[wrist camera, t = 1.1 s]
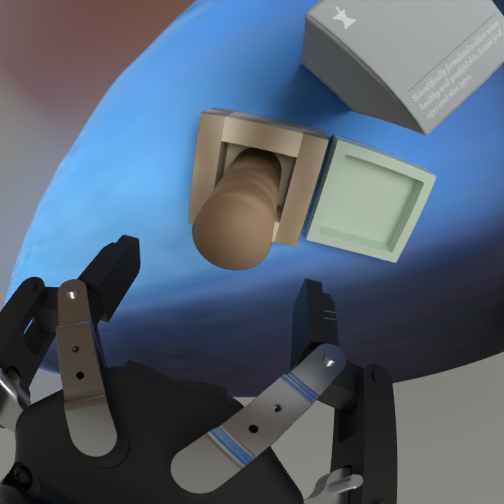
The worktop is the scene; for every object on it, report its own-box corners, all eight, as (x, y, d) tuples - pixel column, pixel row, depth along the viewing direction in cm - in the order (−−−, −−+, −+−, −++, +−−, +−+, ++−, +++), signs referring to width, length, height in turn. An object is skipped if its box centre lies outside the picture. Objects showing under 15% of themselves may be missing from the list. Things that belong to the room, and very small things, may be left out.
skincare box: (352, 111, 22) (429, 162, 9) (291, 56, 20) (290, 17, 7) (413, 57, 17) (535, 58, 5) (355, 0, 15) (426, -76, 3)
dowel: (286, 152, 24) (280, 211, 15) (275, 197, 27) (262, 277, 17) (237, 142, 24) (195, 192, 15) (229, 186, 27) (189, 260, 17)
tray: (427, 168, 23) (436, 176, 21) (390, 250, 29) (395, 262, 27) (334, 134, 23) (338, 139, 21) (305, 227, 29) (306, 239, 27)
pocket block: (323, 131, 23) (328, 140, 20) (296, 225, 29) (295, 247, 26) (213, 107, 23) (200, 113, 20) (200, 203, 29) (188, 222, 26)
